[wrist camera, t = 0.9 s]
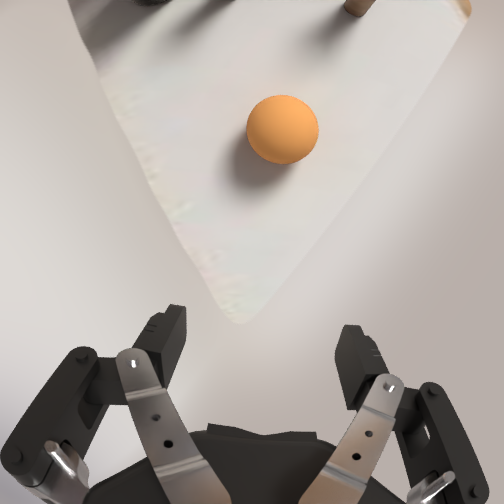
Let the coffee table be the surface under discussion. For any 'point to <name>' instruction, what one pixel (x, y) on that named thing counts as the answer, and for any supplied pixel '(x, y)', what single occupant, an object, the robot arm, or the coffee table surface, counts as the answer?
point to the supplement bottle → (148, 2)
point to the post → (358, 6)
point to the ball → (282, 129)
